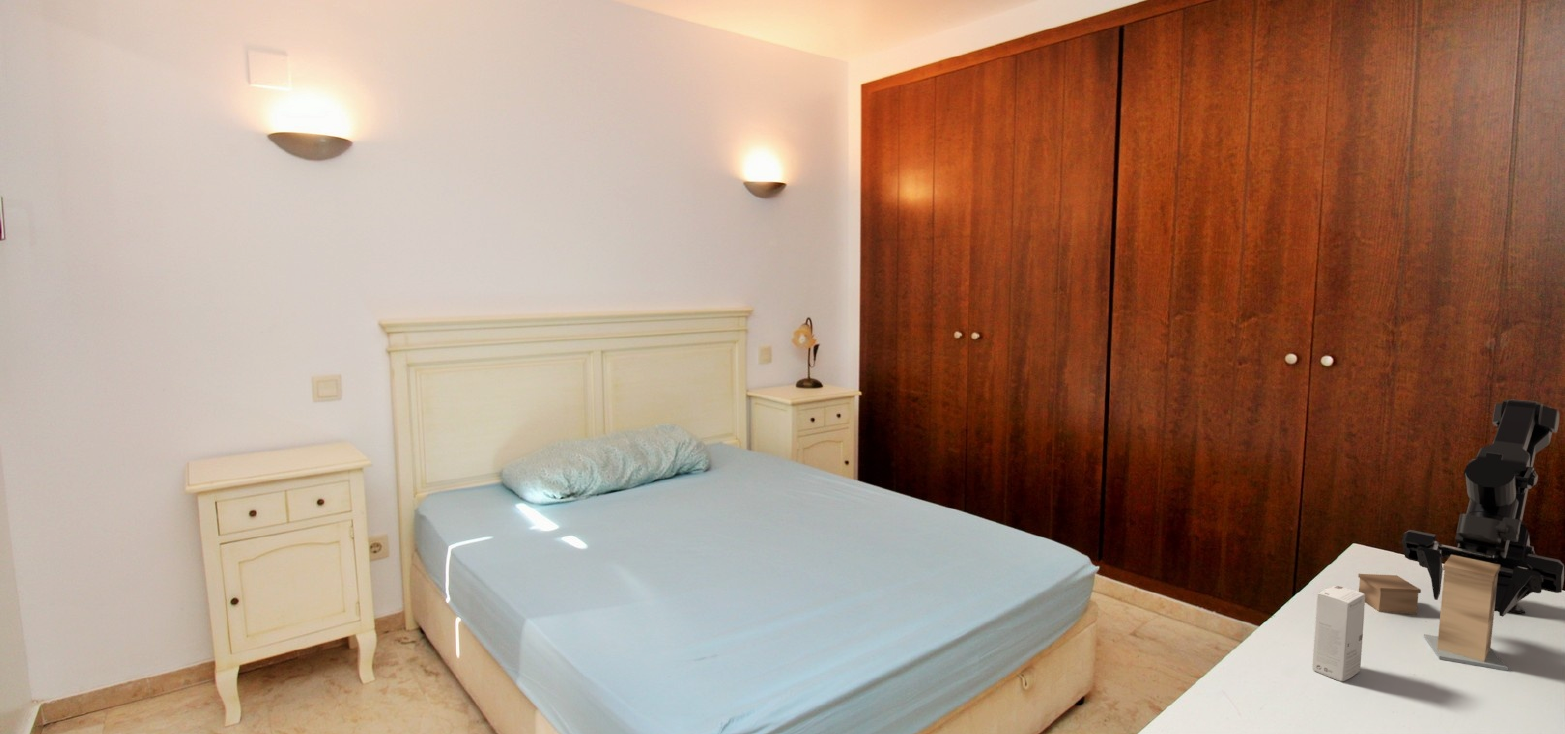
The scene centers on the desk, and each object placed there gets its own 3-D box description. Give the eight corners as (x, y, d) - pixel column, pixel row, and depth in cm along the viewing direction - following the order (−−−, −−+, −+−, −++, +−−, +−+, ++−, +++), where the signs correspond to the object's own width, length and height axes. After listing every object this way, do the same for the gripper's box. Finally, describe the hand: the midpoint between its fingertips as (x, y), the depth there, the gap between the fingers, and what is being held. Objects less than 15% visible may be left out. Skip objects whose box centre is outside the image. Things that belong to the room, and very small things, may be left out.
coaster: (1423, 636, 125) (1424, 634, 125) (1487, 647, 122) (1487, 644, 122) (1439, 659, 118) (1439, 655, 118) (1507, 670, 115) (1507, 667, 115)
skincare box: (1343, 683, 112) (1351, 603, 110) (1309, 670, 115) (1316, 592, 114) (1361, 671, 115) (1369, 593, 113) (1327, 658, 119) (1334, 583, 117)
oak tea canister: (1443, 635, 124) (1451, 554, 122) (1491, 648, 120) (1500, 564, 118) (1435, 648, 121) (1443, 565, 119) (1485, 662, 116) (1494, 576, 114)
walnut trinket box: (1356, 597, 141) (1358, 573, 140) (1394, 599, 140) (1396, 575, 140) (1378, 613, 135) (1380, 587, 134) (1418, 615, 134) (1420, 589, 133)
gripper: (1410, 481, 127) (1385, 562, 121) (1571, 508, 112) (1552, 601, 107) (1417, 518, 133) (1394, 596, 127) (1570, 547, 118) (1552, 637, 113)
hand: (1467, 606), depth 118 cm, fingers open, 7 cm apart
